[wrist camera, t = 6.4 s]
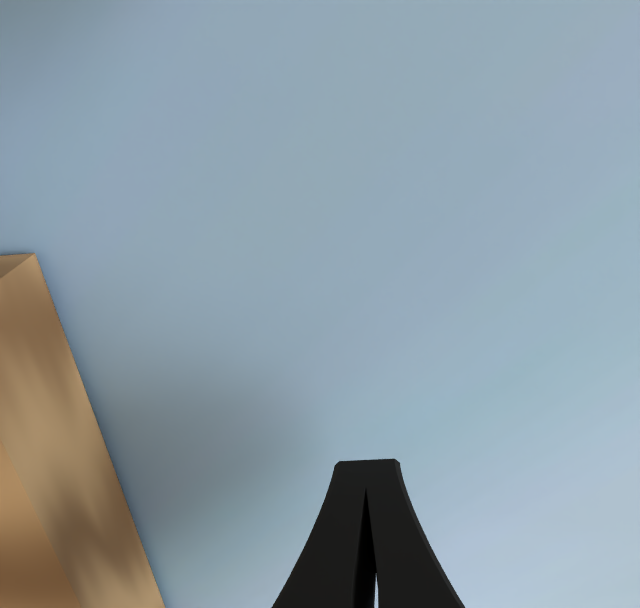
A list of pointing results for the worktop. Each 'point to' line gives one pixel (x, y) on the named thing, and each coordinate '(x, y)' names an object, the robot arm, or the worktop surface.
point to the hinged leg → (57, 469)
